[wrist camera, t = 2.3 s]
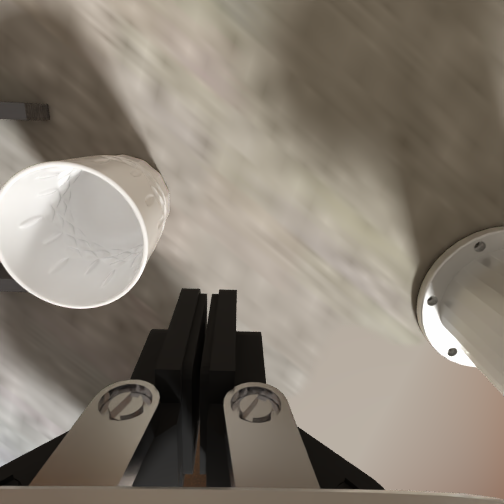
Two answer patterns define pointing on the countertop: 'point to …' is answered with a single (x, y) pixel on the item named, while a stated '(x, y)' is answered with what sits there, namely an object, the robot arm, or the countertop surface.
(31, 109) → the bracket
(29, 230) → the white cup
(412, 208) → the countertop surface
